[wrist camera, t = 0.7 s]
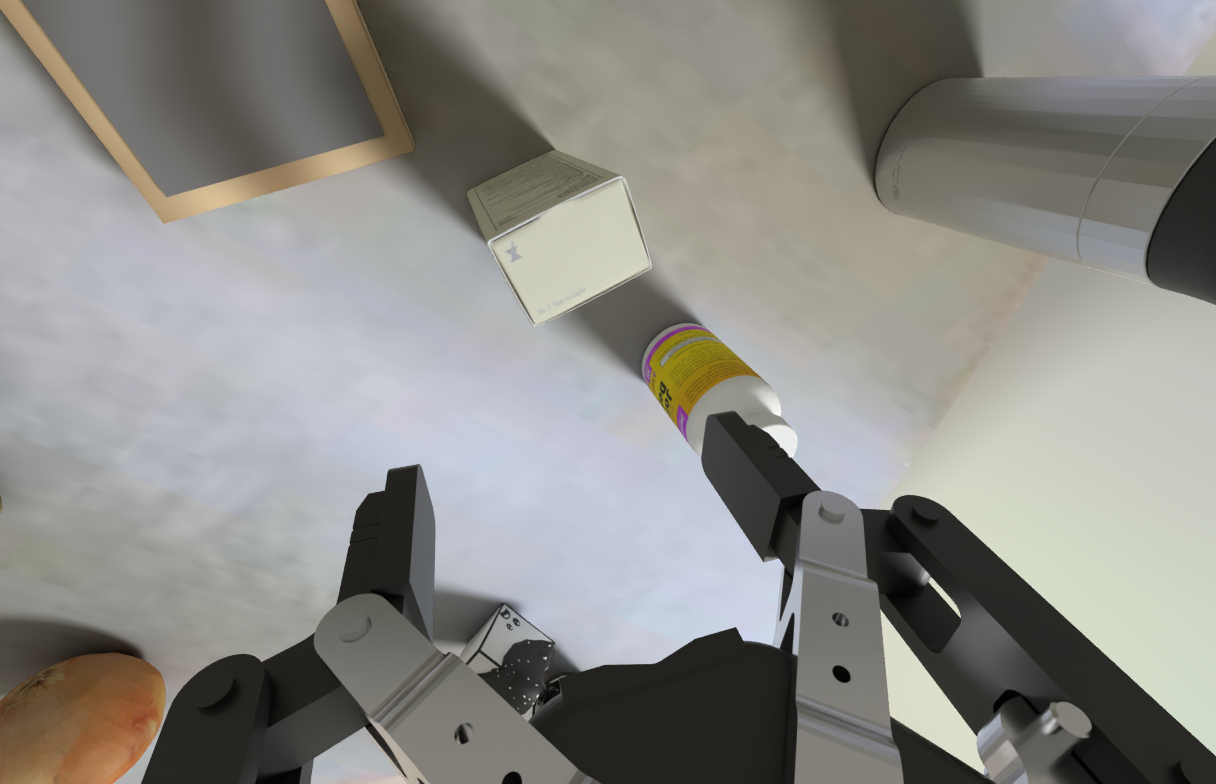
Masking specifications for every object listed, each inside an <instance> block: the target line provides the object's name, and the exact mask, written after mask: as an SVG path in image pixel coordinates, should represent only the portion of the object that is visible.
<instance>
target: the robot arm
mask: <svg viewBox="0 0 1216 784" xmlns="http://www.w3.org/2000/svg"><path fill="white" fill-rule="evenodd" d="M875 183H876V188H877V193H878V196H879V198H880V200H881V202H882V203H883V205H884V206H885V207H886V208H887V209H888V210H890V211H892V212H894V213H896V214H899V215H903V216H906V217H910V218H913V219H917V220H921V221H924V222H928V223H931V224H935V225H937V226H941V227H945V228H948V229H952V230H955V231H959V232H962V233H966V234H970V235H973V236H977V237H980V238H984V239H987V240H991V241H995V242H998V243H1002V244H1005V245H1009V246H1012V247H1016V248H1019V249H1023V250H1027V251H1030V252H1034V253H1037V254H1041V255H1044V256H1048V257H1052V258H1056V259H1059V260H1062V261H1066V262H1069V263H1073V264H1077V265H1080V266H1084V267H1087V268H1091V269H1094V270H1095V269H1096V270H1099V271H1102V272H1106V273H1110V274H1113V275H1117V276H1120V277H1124V278H1128V279H1131V280H1135V281H1138V282H1142V283H1146V284H1149V285H1152V286H1156V287H1160V288H1163V289H1166V290H1170V291H1174V292H1178V293H1181V294H1185V295H1188V296H1191V297H1195V298H1198V299H1201V300H1204V301H1207V302H1209V303H1212V304H1215V305H1216V76H1137V77H1030V78H1006V77H1001V78H946V79H943V80H939V81H936V82H934V83H932V84H930V85H928V86H927V87H925V88H923V89H922V90H921V91H919V92H918V93H917V94H916V95H915V96H913V97H912V98H911V99H910V100H909V101H908V102H907V103H906V105H905V106H904V107H903V108H902V109H901V110H900V112H899V113H898V115H897V116H896V117H895V119H894V120H893V122H892V123H891V125H890V127H889V129H888V131H887V133H886V135H885V137H884V139H883V142H882V145H881V148H880V151H879V154H878V159H877V164H876V175H875ZM701 460H702V466H703V469H704V472H705V474H706V476H707V478H708V479H709V481H710V482H711V484H712V485H713V487H714V488H715V490H716V491H717V493H718V494H719V496H720V497H721V499H722V500H723V502H724V503H725V505H726V506H727V508H728V509H729V511H730V512H731V514H732V515H733V517H734V518H735V520H736V521H737V523H738V524H739V526H740V527H741V529H742V530H743V532H744V533H745V535H746V536H747V538H748V539H749V541H750V542H751V544H752V545H753V547H754V548H755V550H756V552H757V553H758V555H759V556H760V558H761V559H762V561H763V562H767V561H771V560H775V559H780V561H781V562H782V563H783V568H782V572H781V581H780V591H779V601H778V610H777V620H776V629H775V636H774V641H773V646H771V645H767V644H763V643H759V642H752V641H743V639H742V638H741V636H740V634H739V632H738V630H737V628H736V627H735V628H731V629H728V630H724V631H721V632H718V633H714V634H711V635H707V636H704V637H700V638H697V639H694V640H693V641H691V642H690V643H688V644H687V645H685V646H683V647H682V648H680V649H679V650H677V651H676V652H674V653H673V654H671V655H669V656H668V657H666V658H665V659H663V660H662V661H660V662H658V663H655V664H631V665H603V666H600V667H596V668H593V669H590V670H586V671H583V672H579V673H576V674H572V675H569V676H565V677H562V678H559V684H560V694H559V695H557V696H555V697H554V698H552V699H551V700H550V701H548V702H547V703H546V704H545V705H543V706H542V707H541V708H540V709H539V710H538V711H537V712H536V713H535V714H534V715H533V716H532V717H531V719H530V720H529V721H528V722H527V721H526V720H525V719H524V718H523V717H522V716H521V715H520V714H519V713H518V712H517V711H516V710H515V709H514V708H512V707H511V706H510V705H509V704H508V703H507V702H506V701H505V700H504V699H503V698H502V697H501V696H500V695H499V694H498V693H496V692H495V691H494V690H493V689H492V688H491V687H490V686H489V685H488V684H487V683H486V682H485V681H484V680H483V679H482V678H481V677H479V676H478V675H477V674H476V673H475V672H474V671H473V670H472V669H471V668H470V667H469V666H468V665H467V664H466V663H465V662H463V661H462V660H461V659H460V658H459V657H458V656H456V655H455V654H453V653H451V652H448V653H447V654H446V655H445V654H443V653H442V652H440V651H439V650H438V649H437V648H436V647H435V646H434V645H433V614H434V570H435V518H434V511H433V506H432V503H431V499H430V495H429V492H428V488H427V485H426V481H425V477H424V474H423V470H422V467H421V465H420V464H417V465H411V466H406V467H400V468H394V469H389V470H388V474H387V480H386V487H385V491H381V492H375V493H370V494H368V495H367V497H366V498H365V499H364V501H363V502H362V503H361V505H360V506H359V508H358V509H357V510H356V515H355V519H354V524H353V531H352V534H351V539H350V546H349V548H348V553H347V558H346V563H345V567H344V572H343V577H342V582H341V586H340V591H339V596H338V600H337V604H336V606H334V607H333V608H332V609H331V610H330V611H329V612H328V613H327V614H326V615H325V616H324V617H323V619H322V620H321V621H320V623H319V625H318V627H317V629H316V631H315V633H313V634H312V635H311V636H309V637H308V638H306V639H305V640H303V641H302V642H300V643H298V644H296V645H294V646H292V647H290V648H288V649H286V650H284V651H283V652H281V653H279V654H277V655H275V656H273V657H271V658H269V659H267V660H265V661H263V662H261V661H260V660H259V659H258V658H256V657H255V656H252V655H248V654H237V655H232V656H228V657H225V658H223V659H220V660H218V661H216V662H214V663H212V664H210V665H209V666H207V667H205V668H204V669H203V670H201V671H200V672H198V673H197V674H196V675H195V676H194V677H193V678H191V679H190V680H189V681H188V682H187V683H186V684H185V685H184V686H183V688H182V689H181V690H180V692H179V693H178V694H177V696H176V697H175V699H174V700H173V702H172V705H171V707H170V709H169V711H168V714H167V717H166V719H165V722H164V725H163V727H162V730H161V733H160V735H159V738H158V740H157V743H156V746H155V748H154V751H153V754H152V756H151V759H150V761H149V764H148V767H147V769H146V772H145V775H144V777H143V780H142V783H141V784H310V782H311V774H312V767H313V760H314V758H315V757H317V756H318V755H320V754H321V753H323V752H325V751H326V750H328V749H329V748H331V747H333V746H334V745H336V744H337V743H339V742H341V741H342V740H344V739H345V738H347V737H349V736H350V735H352V734H354V733H355V732H357V731H358V730H360V729H362V728H364V730H365V731H366V732H367V733H368V735H369V736H370V737H371V738H372V740H373V741H374V742H375V743H376V745H377V746H378V747H379V748H380V750H381V751H382V752H383V753H384V755H385V756H386V757H387V758H388V760H389V761H390V762H391V763H392V765H393V766H394V767H395V768H396V770H397V771H398V772H399V773H400V775H401V776H402V777H403V778H404V780H405V781H406V782H407V783H408V784H1216V756H1215V755H1214V754H1213V753H1212V752H1211V751H1209V750H1208V749H1207V748H1206V747H1205V746H1204V745H1203V744H1202V743H1201V742H1200V741H1199V740H1197V739H1196V738H1195V737H1194V736H1193V735H1192V734H1191V733H1190V732H1189V731H1188V730H1187V729H1185V728H1184V727H1183V726H1182V725H1181V724H1180V723H1179V722H1178V721H1177V720H1176V719H1175V718H1173V717H1172V716H1171V715H1170V714H1169V713H1168V712H1167V711H1166V710H1165V709H1164V708H1163V707H1162V706H1160V705H1159V704H1158V703H1157V702H1156V701H1155V700H1154V699H1153V698H1152V697H1151V696H1150V695H1148V694H1147V693H1146V692H1145V691H1144V690H1143V689H1142V688H1141V687H1140V686H1139V685H1138V684H1137V683H1135V682H1134V681H1133V680H1132V679H1131V678H1130V677H1129V676H1128V675H1127V674H1126V673H1124V672H1123V671H1122V670H1121V669H1120V668H1119V667H1118V666H1117V665H1116V664H1115V663H1114V662H1113V661H1111V660H1110V659H1109V658H1108V657H1107V656H1106V655H1105V654H1104V653H1102V651H1101V650H1100V649H1098V648H1097V647H1096V646H1095V645H1094V644H1093V643H1092V642H1091V641H1090V640H1089V639H1088V638H1086V637H1085V636H1084V635H1083V634H1082V633H1081V632H1080V631H1079V630H1078V629H1077V628H1076V627H1075V626H1073V625H1072V624H1071V623H1070V622H1069V621H1068V620H1067V619H1066V618H1065V617H1064V616H1063V615H1061V614H1060V613H1059V612H1058V611H1057V610H1056V609H1055V608H1054V607H1053V606H1052V605H1051V604H1049V603H1048V602H1047V601H1046V600H1045V599H1044V598H1043V597H1042V596H1041V595H1040V594H1039V593H1038V592H1036V591H1035V590H1034V589H1033V588H1032V587H1031V586H1030V585H1029V584H1028V583H1027V582H1025V581H1024V580H1023V579H1022V578H1021V577H1020V576H1019V575H1018V574H1017V573H1016V572H1015V571H1014V570H1012V569H1011V568H1010V567H1009V566H1008V565H1007V564H1006V563H1005V562H1004V561H1003V560H1002V559H1000V558H999V557H998V556H997V555H996V554H995V553H994V552H993V551H992V550H991V549H990V548H989V547H987V546H986V545H985V544H984V543H983V542H982V541H981V540H980V539H978V537H977V536H975V535H974V534H973V533H972V532H971V531H970V530H969V529H968V528H967V527H966V526H965V525H963V524H962V523H961V522H960V521H959V520H958V519H957V518H956V517H955V516H954V515H953V514H952V513H950V512H949V511H948V510H947V509H946V508H945V507H943V506H941V505H940V504H938V503H936V502H934V501H932V500H930V499H927V498H924V497H920V496H915V495H905V496H901V497H899V498H897V499H896V500H895V501H894V503H893V505H892V508H891V510H875V509H859V508H858V507H857V506H856V505H855V504H854V503H853V502H852V501H851V500H849V499H848V498H846V497H844V496H842V495H840V494H837V493H834V492H830V491H822V490H821V489H820V488H819V487H818V486H817V485H816V484H815V483H814V482H813V481H812V480H811V478H810V477H809V476H808V475H807V474H806V473H805V472H804V471H803V470H802V469H801V468H800V467H799V465H798V464H797V463H796V462H795V461H794V460H793V459H792V458H791V457H789V456H788V454H787V452H786V451H785V450H784V449H783V448H780V445H779V444H778V443H777V442H776V441H775V439H774V438H773V437H772V436H771V435H770V434H769V433H767V432H766V431H764V430H762V429H760V428H759V427H757V426H755V425H754V424H752V425H747V423H746V422H745V421H744V420H743V419H742V418H741V417H740V416H739V414H738V413H737V412H735V411H728V412H722V413H716V414H710V415H709V416H708V417H707V419H706V425H705V432H704V439H703V447H702V454H701ZM930 577H932V578H933V579H934V580H935V581H936V582H937V584H938V585H939V586H940V587H941V588H942V589H943V590H944V591H945V592H946V593H947V595H948V596H949V597H950V598H951V599H952V600H953V601H954V602H955V604H956V605H957V607H958V609H959V611H960V615H961V618H960V617H959V616H958V615H957V614H956V613H955V611H954V610H953V609H952V608H951V607H950V606H949V605H948V604H947V603H946V601H945V600H944V599H943V598H942V597H941V596H940V595H939V593H938V592H937V591H936V590H935V589H934V588H933V587H932V586H931V585H930V583H929V582H928V581H929V579H930ZM880 609H881V610H882V612H883V613H884V614H885V616H886V617H887V618H888V620H889V621H890V622H891V624H892V625H893V626H894V628H895V629H896V630H897V632H898V633H899V634H900V636H901V637H902V638H903V640H904V641H905V642H906V644H907V645H908V646H909V647H910V649H911V650H912V651H913V653H914V654H915V655H916V656H917V658H918V659H919V661H920V662H921V663H922V665H923V666H924V667H925V669H926V670H927V671H928V673H929V674H930V675H931V677H932V678H933V679H934V680H935V682H936V683H937V685H938V686H939V687H940V688H941V690H942V691H943V692H944V694H945V695H946V696H947V698H948V699H949V700H950V702H951V703H952V704H953V706H954V707H955V708H956V710H957V711H958V712H959V714H960V715H961V716H962V718H963V719H964V720H965V722H966V723H967V724H968V726H969V727H970V728H971V730H972V731H973V732H974V734H975V735H976V736H977V749H978V753H979V756H980V758H981V760H982V762H983V764H984V766H985V769H984V775H983V774H981V773H979V772H978V771H976V770H975V769H973V768H972V767H970V766H968V765H967V764H965V763H964V762H962V761H961V760H959V759H957V758H956V757H954V756H953V755H951V754H949V753H948V752H946V751H945V750H943V749H941V748H940V747H938V746H937V745H935V744H934V743H932V742H930V741H929V740H927V739H926V738H924V737H922V736H920V735H919V734H918V733H916V732H914V731H913V730H911V729H910V728H908V727H906V726H905V725H903V724H902V723H900V722H898V721H897V720H895V719H894V718H892V717H891V716H890V714H889V713H890V712H889V702H888V691H887V680H886V669H885V658H884V647H883V636H882V626H881V614H880Z"/></svg>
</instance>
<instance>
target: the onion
mask: <svg viewBox="0 0 1216 784" xmlns="http://www.w3.org/2000/svg"><path fill="white" fill-rule="evenodd" d="M165 703H166V692H165V684H164V680H163V678H162V675H161V673H160V672H159V671H158V670H157V669H156V668H155V667H153V666H152V665H151V664H149V663H148V662H147V661H145V660H142V659H140V658H136V657H133V656H129V655H124V654H121V653H119V652H109V653H101V654H88V655H82V656H77V657H73V658H70V659H67V660H64V661H61V662H59V663H56V664H54V665H51V666H49V667H47V668H45V669H43V670H41V671H39V672H37V673H36V674H34V675H32V676H31V677H29V678H27V679H26V680H25V681H23V682H22V683H20V684H19V685H18V686H17V687H15V688H14V689H13V690H12V691H10V692H9V693H8V694H7V695H6V696H5V697H4V698H3V699H1V700H0V784H113V783H114V782H115V781H116V780H118V779H119V778H120V777H121V776H123V775H124V774H125V773H126V772H127V771H128V770H129V769H130V768H131V767H133V766H134V764H135V763H136V762H137V761H138V760H139V759H140V758H141V756H142V755H143V754H144V752H145V751H146V749H147V748H148V746H149V745H150V743H151V742H152V740H153V739H154V737H155V736H156V734H157V732H158V730H159V727H160V725H161V722H162V719H163V714H164V709H165Z"/></svg>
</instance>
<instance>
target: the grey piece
mask: <svg viewBox="0 0 1216 784" xmlns="http://www.w3.org/2000/svg"><path fill="white" fill-rule="evenodd" d="M554 644H555V643H554V641H553V640H551V639H550V638H549V637H547V636H546V635H545V634H544V633H542V632H541V631H540V630H539V629H537V628H536V627H535V626H533V625H532V624H531V623H530V622H528V621H527V620H526V619H525V618H523V617H522V616H521V615H519V614H518V613H517V612H516V611H514V610H513V609H512V608H511V607H509V606H508V605H507V604H505V603H503V604H502V605H501V606H500V607H499V608H498V609H497V610H496V612H495V613H494V614H493V615H492V616H491V617H490V618H489V619H488V621H487V622H486V623H485V624H484V625H483V626H482V627H481V628H480V630H479V631H478V632H477V633H476V634H475V635H474V636H473V637H472V639H471V640H470V641H469V642H468V643H467V645H466V647H465V649H464V650H463V652H462V654H461V656H460V657H459V658H460V659H461V660H462V661H463V662H465V663H466V664H467V665H468V666H469V667H470V668H471V669H472V670H473V671H474V672H475V673H476V674H477V675H478V676H479V677H481V678H482V679H483V680H484V681H485V682H486V683H487V684H488V685H489V686H490V687H491V688H492V689H493V690H494V691H495V692H496V693H498V694H499V695H500V696H501V697H502V698H503V699H504V700H505V701H506V702H507V703H508V704H509V705H510V706H511V707H512V708H514V709H515V710H516V711H517V712H518V713H519V714H520V715H522V714H525V713H526V712H527V711H528V710H529V709H530V708H531V707H532V706H533V712H532V716H533V715H534V714H535V713H536V712H537V711H538V710H539V709H540V708H541V707H542V706H543V705H545V704H546V703H547V702H548V701H550V700H551V699H552V698H554V697H555V696H557V695H559V694H560V684H559V678H562V677H565V676H569V675H572V674H576V673H560V674H558V675H556V676H554V677H552V678H550V679H549V680H548V681H547V682H546V683H545V682H544V673H545V672H546V671H547V669H548V668H549V667H550V664H549V661H550V659H551V657H552V656H553V654H554V650H553V646H554Z"/></svg>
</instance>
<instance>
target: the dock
mask: <svg viewBox="0 0 1216 784" xmlns="http://www.w3.org/2000/svg"><path fill="white" fill-rule="evenodd" d="M0 9H1V10H2V12H3V13H4V14H5V16H6V17H7V18H8V20H9V21H10V22H11V24H12V25H13V26H14V28H15V29H16V30H17V31H18V33H19V34H20V35H21V37H22V38H23V39H24V41H25V42H26V43H27V45H28V46H29V47H30V49H31V50H32V51H33V52H34V54H35V55H36V56H37V58H38V59H39V60H40V62H41V63H42V64H43V66H44V67H45V68H46V70H47V71H48V72H49V73H50V75H51V76H52V77H53V79H54V80H55V81H56V83H57V84H58V85H59V87H60V88H61V89H62V91H63V92H64V93H65V94H66V96H67V97H68V98H69V100H70V101H71V102H72V104H73V105H74V106H75V108H76V109H77V110H78V112H79V113H80V114H81V115H82V117H83V118H84V119H85V121H86V122H87V123H88V125H89V126H90V127H91V129H92V130H93V131H94V133H95V134H96V135H97V136H98V138H99V139H100V140H101V142H102V143H103V144H104V146H105V147H106V148H107V150H108V151H109V152H110V154H111V155H112V156H113V157H114V159H115V160H116V161H117V163H118V164H119V165H120V167H121V168H122V169H123V171H124V172H125V173H126V175H127V176H128V177H129V178H130V180H131V181H132V182H133V184H134V185H135V186H136V188H137V189H138V190H139V192H140V193H141V194H142V196H143V197H144V198H145V199H146V201H147V202H148V203H149V205H150V206H151V207H152V209H153V210H154V211H155V213H156V214H157V215H158V217H159V218H160V219H161V220H162V222H163V223H164V224H165V223H168V222H172V221H175V220H179V219H182V218H186V217H189V216H193V215H196V214H199V213H203V212H206V211H210V210H213V209H217V208H220V207H224V206H227V205H231V204H234V203H237V202H241V201H244V200H248V199H251V198H255V197H258V196H262V195H265V194H269V193H272V192H275V191H279V190H282V189H286V188H289V187H293V186H296V185H300V184H303V183H307V182H310V181H313V180H317V179H320V178H324V177H327V176H331V175H334V174H338V173H341V172H345V171H348V170H352V169H355V168H358V167H362V166H365V165H369V164H372V163H376V162H379V161H383V160H386V159H390V158H393V157H396V156H400V155H403V154H407V153H410V152H414V150H415V146H416V145H415V143H414V140H413V138H412V135H411V133H410V130H409V128H408V126H407V123H406V121H405V118H404V116H403V113H402V111H401V109H400V106H399V104H398V101H397V99H396V97H395V94H394V92H393V89H392V87H391V84H390V82H389V80H388V77H387V75H386V72H385V70H384V67H383V65H382V63H381V60H380V58H379V55H378V53H377V51H376V48H375V46H374V43H373V41H372V38H371V36H370V34H369V31H368V29H367V26H366V24H365V21H364V19H363V17H362V14H361V12H360V9H359V7H358V4H357V2H356V0H0Z"/></svg>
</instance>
